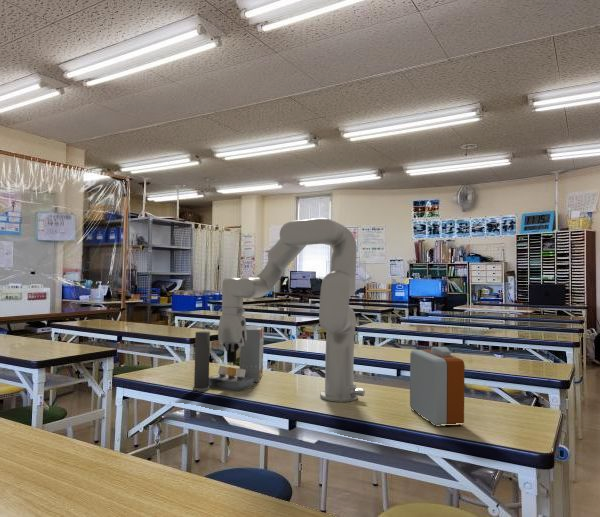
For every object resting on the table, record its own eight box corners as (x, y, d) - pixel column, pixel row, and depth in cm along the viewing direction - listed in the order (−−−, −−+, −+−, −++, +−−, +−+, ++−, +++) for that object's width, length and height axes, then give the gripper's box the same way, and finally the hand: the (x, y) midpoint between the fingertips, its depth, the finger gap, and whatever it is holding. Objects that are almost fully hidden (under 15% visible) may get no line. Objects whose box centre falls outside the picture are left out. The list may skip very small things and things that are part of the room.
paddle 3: (226, 377, 173) (228, 367, 174) (221, 375, 170) (223, 366, 171) (222, 376, 173) (224, 367, 174) (217, 375, 171) (219, 365, 172)
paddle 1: (243, 379, 169) (245, 370, 170) (239, 378, 166) (241, 368, 167) (239, 379, 170) (241, 369, 171) (235, 378, 167) (237, 368, 168)
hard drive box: (259, 383, 175) (260, 329, 176) (238, 382, 176) (239, 329, 176) (263, 374, 191) (264, 325, 192) (244, 373, 191) (245, 325, 192)
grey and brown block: (465, 427, 128) (465, 352, 129) (435, 428, 127) (436, 352, 128) (435, 407, 147) (435, 342, 147) (408, 408, 145) (409, 342, 146)
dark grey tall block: (212, 388, 166) (214, 332, 166) (202, 391, 161) (203, 333, 161) (200, 386, 168) (201, 331, 169) (189, 389, 163) (191, 332, 164)
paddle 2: (235, 378, 171) (237, 368, 172) (230, 377, 168) (232, 367, 169) (231, 377, 171) (233, 368, 173) (226, 376, 169) (228, 366, 170)
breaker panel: (253, 386, 170) (253, 377, 170) (238, 391, 162) (239, 382, 162) (222, 381, 177) (222, 372, 177) (207, 386, 169) (207, 377, 169)
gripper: (255, 311, 170) (254, 362, 170) (222, 310, 177) (221, 358, 177) (243, 313, 164) (242, 365, 163) (209, 311, 171) (208, 361, 170)
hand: (231, 361), depth 170 cm, fingers closed
